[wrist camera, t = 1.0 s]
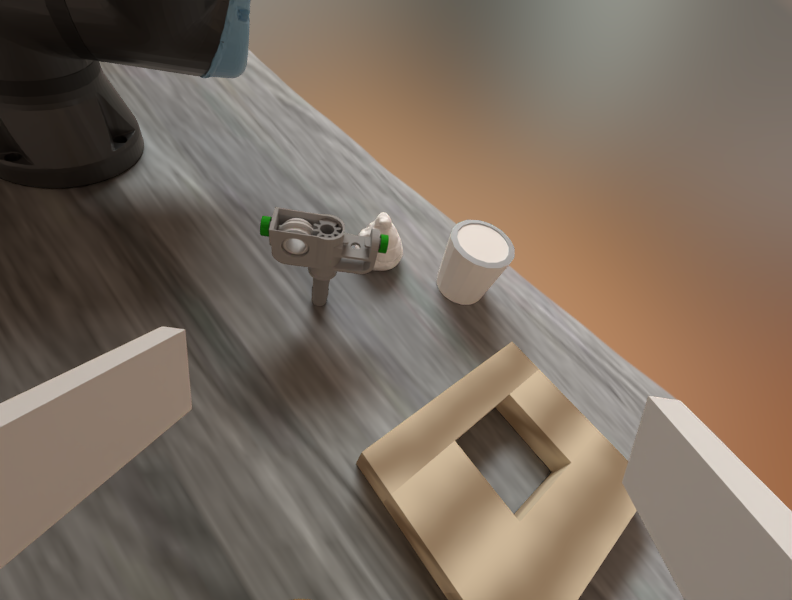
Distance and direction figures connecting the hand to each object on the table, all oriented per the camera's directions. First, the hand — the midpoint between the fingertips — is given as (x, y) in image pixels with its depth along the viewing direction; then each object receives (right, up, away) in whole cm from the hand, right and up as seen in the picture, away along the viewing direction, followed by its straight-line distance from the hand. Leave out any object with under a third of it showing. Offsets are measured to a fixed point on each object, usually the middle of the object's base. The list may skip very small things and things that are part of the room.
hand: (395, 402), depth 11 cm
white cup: (+7, +4, +34) cm, 35 cm away
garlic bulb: (-2, +8, +34) cm, 35 cm away
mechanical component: (-8, +3, +28) cm, 30 cm away
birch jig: (+9, -12, +21) cm, 26 cm away
